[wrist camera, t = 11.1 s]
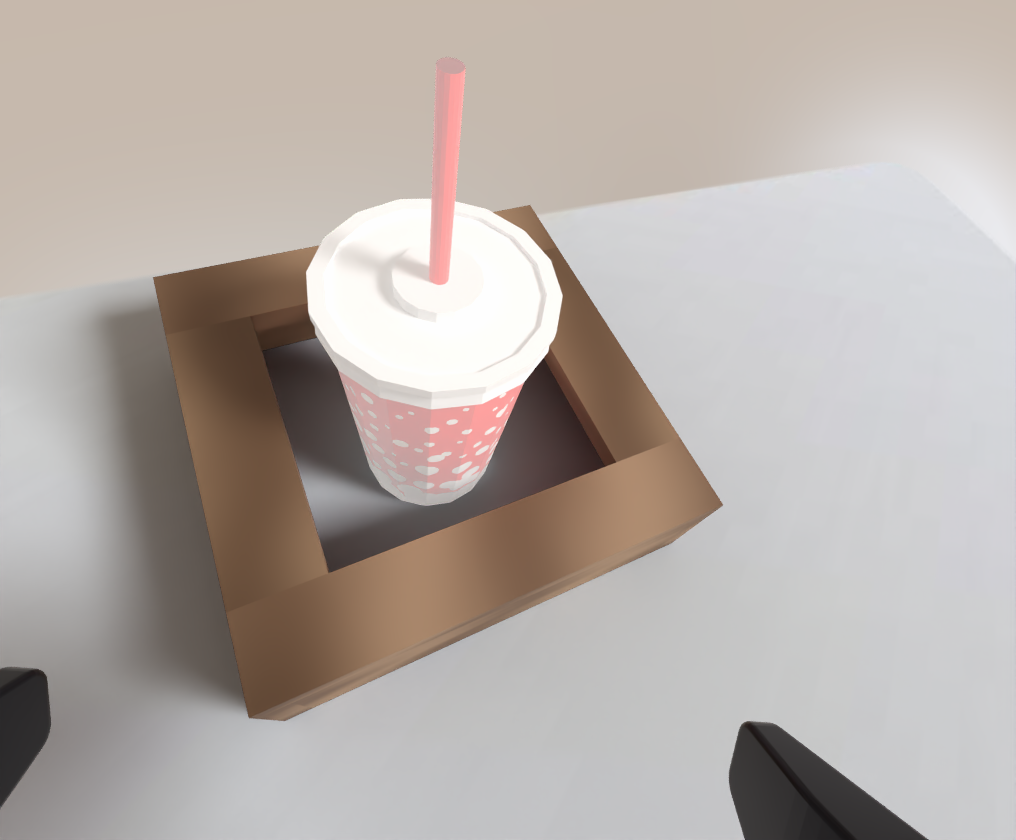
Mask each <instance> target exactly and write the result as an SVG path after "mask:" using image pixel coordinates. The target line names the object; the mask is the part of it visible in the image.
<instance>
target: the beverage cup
mask: <svg viewBox="0 0 1016 840" xmlns="http://www.w3.org/2000/svg"><path fill="white" fill-rule="evenodd" d="M464 79H465V65H464V64H463V63H462V62H461V61H460V60H458V59H454V58H447V57H445V58H441V59H439V60H438V61H437V63H436V81H435V110H434V112H435V113H434V141H433V170H432V199H398V200H395V201H392V202H389V203H386V204H382V205H379V206H376V207H373V208H370V209H366V210H363V211H360V212H357V213H356V214H354V215H353V216H352V217H350V218H349V219H348V220H346V221H345V222H344V223H342V224H341V225H340V226H338V227H337V228H336V229H334V230H333V231H332V232H331V233H329V234H328V235H327V236H326V237H324V238H323V240H322V242H321V244H320V246H319V248H318V250H317V252H316V254H315V256H314V258H313V260H312V262H311V264H310V266H309V267H308V269H307V271H306V279H307V296H308V312H309V316H310V320H311V322H312V323H313V325H314V326H315V334H316V336H317V337H318V339H319V341H320V342H321V344H322V345H323V347H324V348H325V350H326V352H327V353H328V355H329V356H330V358H331V359H332V361H333V363H334V364H335V366H336V367H337V369H338V371H339V374H340V377H341V380H342V383H343V386H344V389H345V393H346V396H347V399H348V402H349V405H350V408H351V411H352V414H353V417H354V420H355V423H356V426H357V429H358V433H359V436H360V439H361V442H362V445H363V448H364V451H365V454H366V457H367V460H368V463H369V466H370V468H371V470H372V472H373V473H374V475H375V477H376V478H377V480H378V482H379V483H380V485H381V486H382V487H383V488H384V489H386V490H387V491H388V492H390V493H391V494H393V495H394V496H396V497H397V498H399V499H400V500H401V501H406V502H410V503H415V504H419V505H423V506H430V505H436V504H443V503H450V502H452V501H454V500H455V499H457V498H459V497H461V496H462V495H464V494H466V493H468V492H469V491H471V490H472V489H473V487H474V486H475V485H476V483H477V482H478V481H479V479H480V478H481V477H482V475H483V474H484V473H485V471H486V468H487V466H488V464H489V461H490V459H491V457H492V455H493V452H494V450H495V448H496V445H497V443H498V441H499V439H500V436H501V434H502V432H503V429H504V427H505V425H506V423H507V420H508V418H509V416H510V414H511V411H512V409H513V407H514V404H515V402H516V400H517V398H518V395H519V393H520V391H521V388H522V386H523V384H524V382H525V380H526V379H527V378H528V377H529V375H530V374H531V373H532V372H533V370H534V369H535V368H536V367H537V365H538V364H539V363H540V361H541V360H542V359H543V358H544V356H545V355H546V354H547V353H548V350H549V345H550V344H551V342H552V341H553V340H554V338H555V335H556V332H557V326H558V320H559V314H560V309H561V303H562V297H563V295H562V292H561V289H560V286H559V283H558V280H557V277H556V274H555V271H554V268H553V265H552V262H551V260H550V259H549V258H548V257H547V255H546V254H545V253H544V252H543V251H542V250H541V249H540V248H539V246H538V245H537V244H536V243H535V242H534V241H533V240H532V239H531V237H530V236H529V235H528V234H527V233H526V232H525V231H524V230H522V229H521V228H519V227H517V226H515V225H514V224H512V223H510V222H508V221H507V220H505V219H503V218H501V217H500V216H498V215H496V214H494V213H493V212H491V211H489V210H487V209H483V208H480V207H476V206H471V205H468V204H464V203H460V202H456V201H455V195H456V182H457V169H458V156H459V144H460V131H461V118H462V106H463V91H464Z"/></svg>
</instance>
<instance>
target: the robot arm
mask: <svg viewBox="0 0 1016 840" xmlns="http://www.w3.org/2000/svg"><path fill="white" fill-rule="evenodd" d="M50 727H51V716H50V705H49V694H48V683H47V677H46V675H45V674H44V672H43V671H41V670H39V669H33V668H20V667H6V668H2V669H0V808H1V807H2V805H3V804H4V802H5V801H6V800H7V798H8V797H9V795H10V794H11V792H12V791H13V790H14V788H15V787H16V785H17V784H18V782H19V781H20V779H21V778H22V777H23V775H24V774H25V772H26V771H27V769H28V768H29V766H30V765H31V764H32V762H33V761H34V759H35V758H36V756H37V755H38V753H39V752H40V751H41V749H42V747H43V746H44V744H45V742H46V740H47V738H48V735H49V732H50ZM729 785H730V791H731V795H732V798H733V801H734V805H735V808H736V812H737V815H738V818H739V822H740V825H741V828H742V832H743V835H744V838H745V840H928V839H927V838H926V837H924V836H923V835H922V834H920V833H919V832H918V831H916V830H915V829H914V828H912V827H911V826H910V825H908V824H907V823H906V822H904V821H903V820H902V819H900V818H899V817H898V816H896V815H895V814H894V813H893V812H891V811H890V810H889V809H887V808H886V807H885V806H883V805H882V804H881V803H879V802H878V801H877V800H875V799H874V798H873V797H871V796H870V795H869V794H867V793H866V792H865V791H863V790H862V789H861V788H860V787H858V786H857V785H856V784H854V783H853V782H852V781H850V780H849V779H848V778H846V777H845V776H844V775H842V774H841V773H840V772H838V771H837V770H836V769H834V768H833V767H832V766H831V765H829V764H828V763H827V762H825V761H824V760H823V759H821V758H820V757H819V756H817V755H816V754H815V753H813V752H812V751H811V750H809V749H808V748H807V747H805V746H804V745H803V744H801V743H800V742H799V741H798V740H796V739H795V738H794V737H792V736H791V735H790V734H788V733H787V732H786V731H784V730H783V729H782V728H780V727H779V726H777V725H776V724H773V723H767V722H753V721H747V722H744V723H743V724H742V725H741V727H740V729H739V732H738V736H737V740H736V744H735V749H734V753H733V757H732V761H731V765H730V770H729Z"/></svg>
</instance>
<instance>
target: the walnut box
mask: <svg viewBox="0 0 1016 840" xmlns="http://www.w3.org/2000/svg"><path fill="white" fill-rule="evenodd" d="M493 213H494V214H496V215H498V216H500V217H501V218H503V219H505V220H507V221H508V222H510V223H512V224H514V225H515V226H517V227H519V228H521V229H522V230H524V231H525V232H526V233H527V234H528V235H529V236H530V237H531V239H532V240H533V241H534V242H535V243H536V244H537V245H538V246H539V248H540V249H541V250H542V251H543V252H544V253H545V254H546V255H547V257H548V258H549V259H550V260H551V262H552V265H553V268H554V271H555V274H556V277H557V280H558V283H559V286H560V289H561V292H562V295H563V297H562V303H561V309H560V314H559V320H558V326H557V332H556V335H555V338H554V340H553V341H552V342H551V344H550V345H549V350H548V353H547V354H546V355H545V356H544V359H545V361H546V363H547V365H548V366H549V368H550V370H551V372H552V374H553V375H554V377H555V379H556V381H557V382H558V384H559V386H560V388H561V389H562V391H563V393H564V395H565V396H566V398H567V400H568V402H569V404H570V405H571V407H572V409H573V411H574V412H575V414H576V416H577V418H578V419H579V421H580V423H581V425H582V427H583V428H584V430H585V432H586V434H587V435H588V437H589V439H590V441H591V442H592V444H593V446H594V448H595V450H596V451H597V453H598V455H599V457H600V458H601V460H602V462H603V464H604V465H605V467H603V468H600V469H598V470H595V471H593V472H590V473H588V474H585V475H582V476H580V477H577V478H575V479H572V480H569V481H567V482H564V483H562V484H559V485H556V486H554V487H551V488H549V489H546V490H543V491H541V492H538V493H536V494H533V495H530V496H528V497H525V498H523V499H520V500H517V501H515V502H512V503H510V504H507V505H504V506H502V507H499V508H497V509H494V510H491V511H489V512H486V513H484V514H481V515H478V516H476V517H473V518H471V519H468V520H465V521H463V522H460V523H458V524H455V525H452V526H450V527H447V528H445V529H442V530H439V531H437V532H434V533H432V534H429V535H426V536H424V537H421V538H419V539H416V540H413V541H411V542H408V543H406V544H403V545H401V546H398V547H395V548H393V549H390V550H388V551H385V552H382V553H380V554H377V555H375V556H372V557H369V558H367V559H364V560H362V561H359V562H356V563H354V564H351V565H349V566H346V567H343V568H341V569H338V570H336V571H333V572H329V569H328V566H327V562H326V559H325V556H324V553H323V549H322V546H321V543H320V539H319V536H318V533H317V530H316V526H315V523H314V520H313V516H312V513H311V510H310V507H309V503H308V500H307V497H306V493H305V490H304V487H303V484H302V480H301V477H300V474H299V470H298V467H297V464H296V461H295V457H294V454H293V451H292V448H291V444H290V441H289V438H288V434H287V431H286V428H285V425H284V421H283V418H282V415H281V411H280V408H279V405H278V402H277V398H276V395H275V392H274V388H273V385H272V382H271V379H270V375H269V372H268V369H267V365H266V362H265V359H264V356H263V352H262V351H263V350H267V349H271V348H275V347H279V346H283V345H287V344H291V343H295V342H299V341H303V340H308V339H312V338H316V337H317V336H316V334H315V326H314V325H313V323H312V322H311V320H310V316H309V312H308V296H307V279H306V271H307V269H308V267H309V266H310V264H311V262H312V260H313V258H314V256H315V254H316V252H317V250H318V248H319V246H315V247H309V248H304V249H299V250H294V251H288V252H283V253H278V254H273V255H268V256H263V257H257V258H252V259H246V260H241V261H236V262H231V263H226V264H220V265H215V266H210V267H205V268H200V269H194V270H189V271H184V272H179V273H173V274H168V275H163V276H158V277H153V279H154V284H155V289H156V293H157V298H158V302H159V307H160V312H161V316H162V321H163V325H164V330H165V335H166V339H167V344H168V348H169V353H170V358H171V362H172V367H173V371H174V376H175V381H176V385H177V390H178V394H179V399H180V404H181V408H182V413H183V417H184V422H185V427H186V431H187V436H188V440H189V445H190V450H191V454H192V459H193V463H194V468H195V473H196V477H197V482H198V486H199V491H200V496H201V500H202V505H203V509H204V514H205V519H206V523H207V528H208V532H209V537H210V542H211V546H212V551H213V556H214V560H215V565H216V569H217V574H218V579H219V583H220V588H221V592H222V597H223V602H224V606H225V611H226V615H227V620H228V625H229V629H230V634H231V638H232V643H233V648H234V652H235V657H236V661H237V666H238V671H239V675H240V680H241V684H242V689H243V694H244V698H245V703H246V707H247V712H248V717H249V718H255V719H267V720H280V721H285V720H288V719H290V718H292V717H294V716H296V715H299V714H301V713H303V712H305V711H307V710H309V709H312V708H314V707H316V706H318V705H320V704H322V703H325V702H327V701H329V700H331V699H333V698H335V697H338V696H340V695H342V694H344V693H346V692H349V691H351V690H353V689H355V688H357V687H359V686H362V685H364V684H366V683H368V682H370V681H372V680H375V679H377V678H379V677H381V676H383V675H386V674H388V673H390V672H392V671H394V670H396V669H399V668H401V667H403V666H405V665H407V664H409V663H412V662H414V661H416V660H418V659H420V658H422V657H425V656H427V655H429V654H431V653H433V652H436V651H438V650H440V649H442V648H444V647H446V646H449V645H451V644H453V643H455V642H457V641H459V640H462V639H464V638H466V637H468V636H470V635H473V634H475V633H477V632H479V631H481V630H483V629H486V628H488V627H490V626H492V625H494V624H496V623H499V622H501V621H503V620H505V619H507V618H509V617H512V616H514V615H516V614H518V613H520V612H523V611H525V610H527V609H529V608H531V607H533V606H536V605H538V604H540V603H542V602H544V601H546V600H549V599H551V598H553V597H555V596H557V595H560V594H562V593H564V592H566V591H568V590H570V589H573V588H575V587H577V586H579V585H581V584H583V583H586V582H588V581H590V580H592V579H594V578H596V577H599V576H601V575H603V574H605V573H607V572H610V571H612V570H614V569H616V568H618V567H620V566H623V565H625V564H627V563H629V562H631V561H633V560H636V559H638V558H640V557H642V556H644V555H646V554H649V553H651V552H653V551H655V550H657V549H660V548H662V547H664V546H666V545H668V544H670V543H672V542H673V541H675V540H676V539H678V538H679V537H680V536H682V535H683V534H684V533H686V532H687V531H688V530H690V529H691V528H693V527H694V526H695V525H697V524H698V523H699V522H701V521H702V520H703V519H705V518H706V517H708V516H709V515H710V514H712V513H713V512H714V511H716V510H717V509H718V508H720V507H721V506H723V504H722V502H721V501H720V499H719V498H718V496H717V495H716V493H715V491H714V490H713V488H712V487H711V485H710V484H709V482H708V481H707V479H706V478H705V476H704V474H703V473H702V471H701V470H700V468H699V467H698V465H697V464H696V462H695V460H694V459H693V457H692V456H691V454H690V453H689V451H688V450H687V448H686V446H685V445H684V443H683V442H682V440H681V439H680V437H679V436H678V434H677V433H676V431H675V429H674V428H673V426H672V425H671V423H670V422H669V420H668V419H667V417H666V415H665V414H664V412H663V411H662V409H661V408H660V406H659V405H658V403H657V402H656V400H655V398H654V397H653V395H652V394H651V392H650V391H649V389H648V388H647V386H646V384H645V383H644V381H643V380H642V378H641V377H640V375H639V374H638V372H637V370H636V369H635V367H634V366H633V364H632V363H631V361H630V360H629V358H628V357H627V355H626V353H625V352H624V350H623V349H622V347H621V346H620V344H619V343H618V341H617V339H616V338H615V336H614V335H613V333H612V332H611V330H610V329H609V327H608V326H607V324H606V322H605V321H604V319H603V318H602V316H601V315H600V313H599V312H598V310H597V308H596V307H595V305H594V304H593V302H592V301H591V299H590V298H589V296H588V294H587V293H586V291H585V290H584V288H583V287H582V285H581V284H580V282H579V281H578V279H577V277H576V276H575V274H574V273H573V271H572V270H571V268H570V267H569V265H568V263H567V262H566V260H565V259H564V257H563V256H562V254H561V253H560V251H559V249H558V248H557V246H556V245H555V243H554V242H553V240H552V239H551V237H550V236H549V234H548V232H547V231H546V229H545V228H544V226H543V225H542V223H541V222H540V220H539V218H538V217H537V215H536V214H535V212H534V211H533V209H532V208H531V206H530V205H528V206H523V207H519V208H513V209H507V210H502V211H497V212H493Z"/></svg>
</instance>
